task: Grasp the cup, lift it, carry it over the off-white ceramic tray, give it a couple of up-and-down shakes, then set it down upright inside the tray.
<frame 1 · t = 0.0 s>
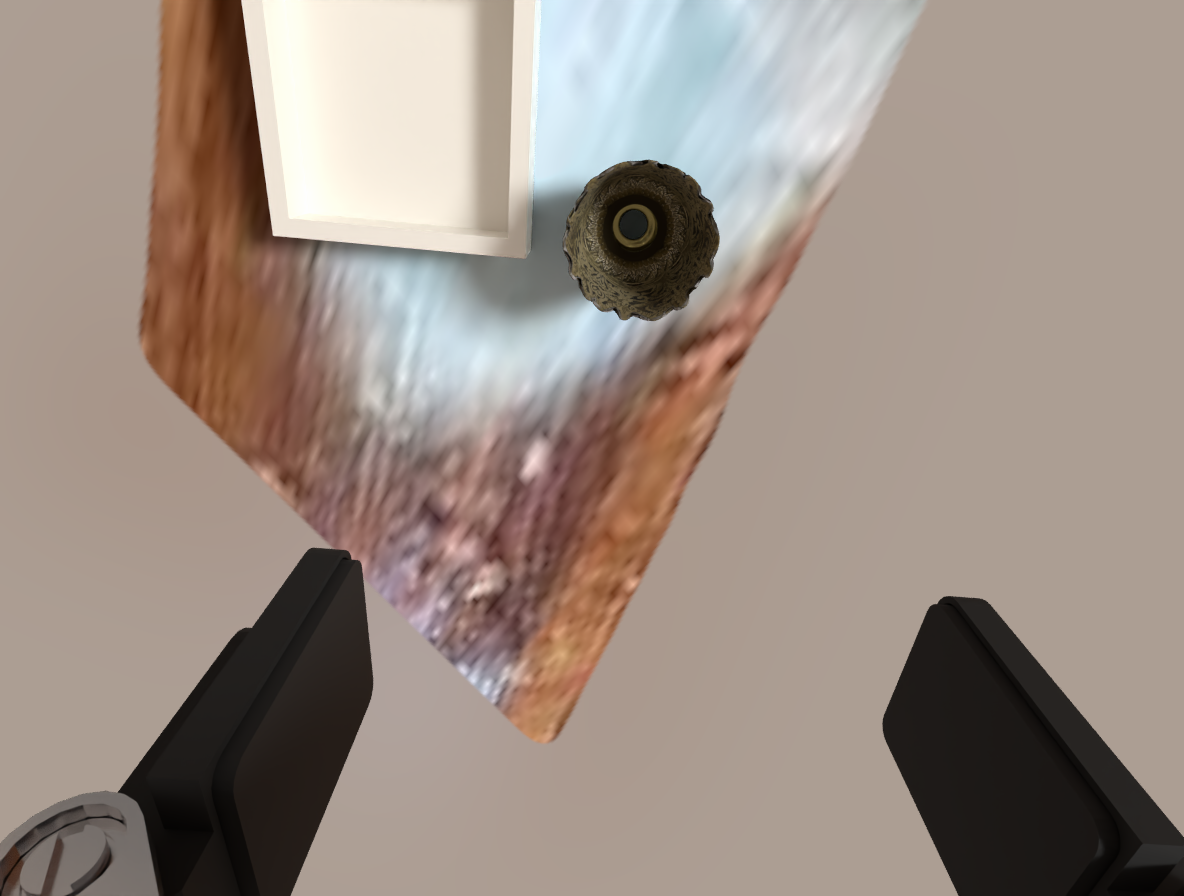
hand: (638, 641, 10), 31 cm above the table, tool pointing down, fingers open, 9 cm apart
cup: (633, 224, 37), on the table
tray: (409, 107, 34), on the table
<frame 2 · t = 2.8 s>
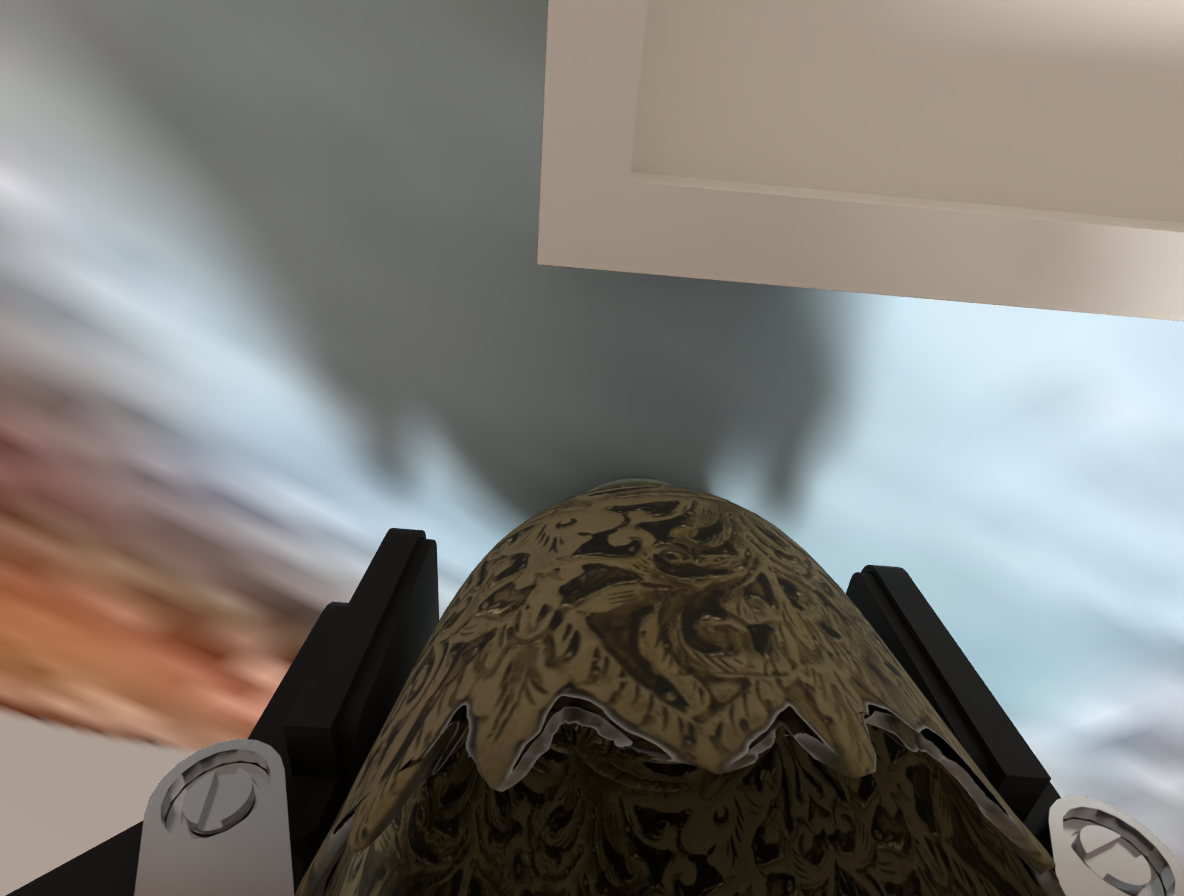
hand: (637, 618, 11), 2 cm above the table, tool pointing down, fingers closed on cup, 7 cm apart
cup: (633, 535, 13), on the table, touching gripper
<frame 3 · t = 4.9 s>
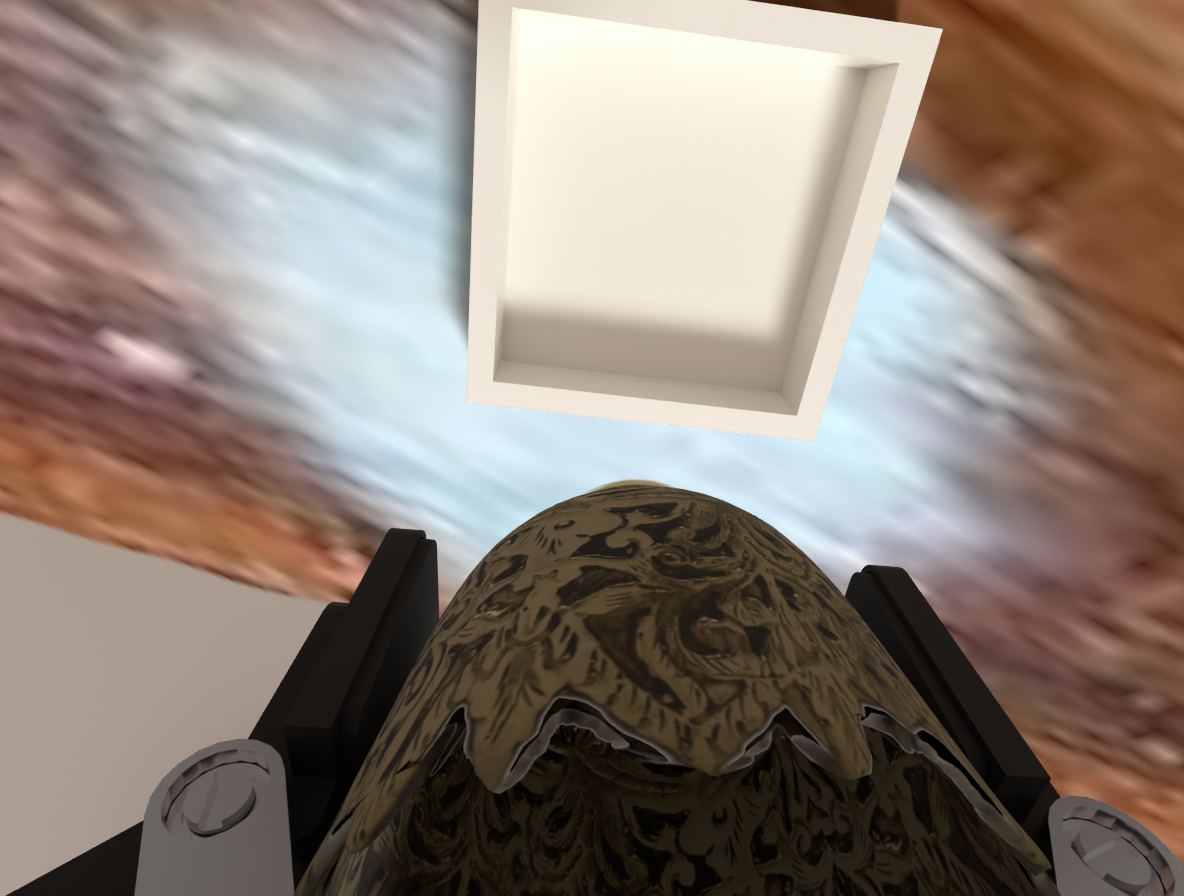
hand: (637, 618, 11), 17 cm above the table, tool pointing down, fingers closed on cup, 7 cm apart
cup: (632, 536, 13), point 15 cm above the table, touching gripper
tray: (665, 227, 24), on the table
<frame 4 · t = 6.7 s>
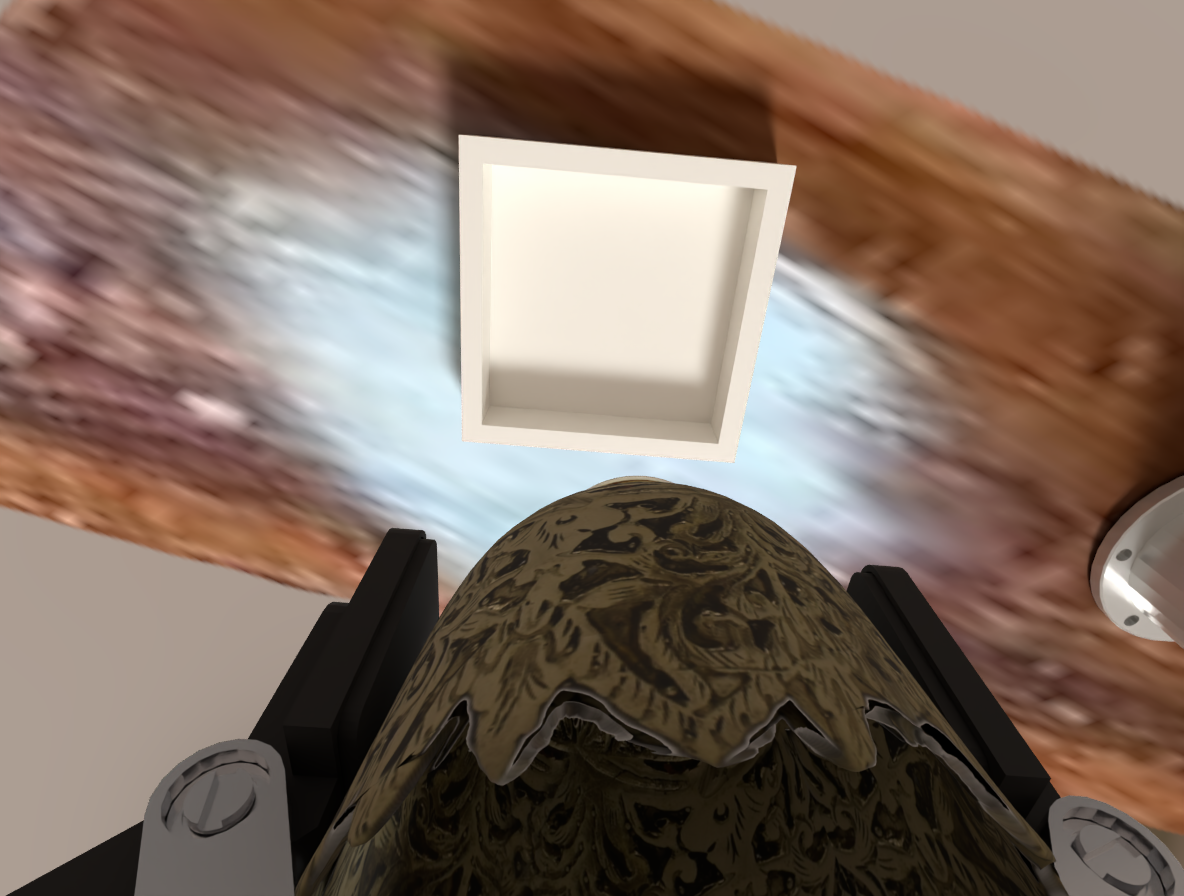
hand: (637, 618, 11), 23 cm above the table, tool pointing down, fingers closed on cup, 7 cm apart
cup: (633, 533, 13), point 21 cm above the table, touching gripper
tray: (611, 301, 32), on the table
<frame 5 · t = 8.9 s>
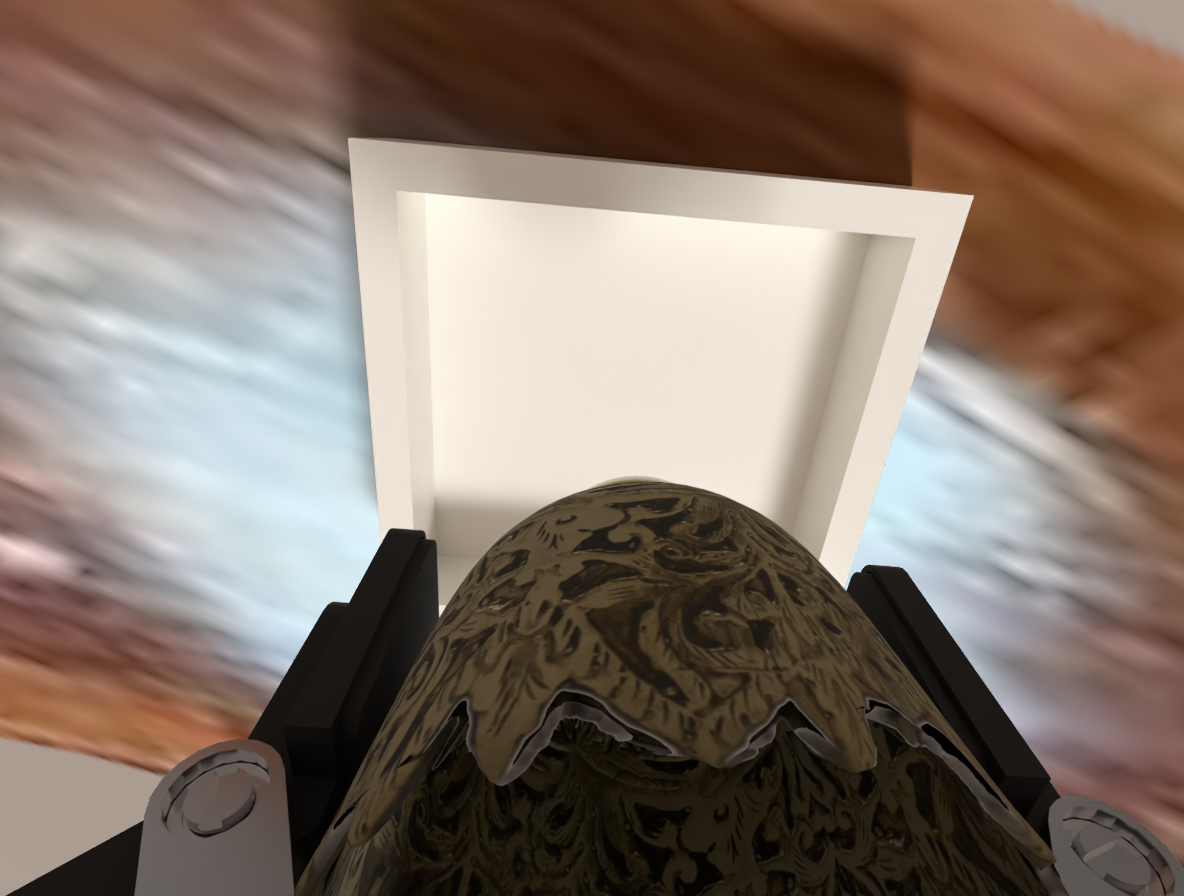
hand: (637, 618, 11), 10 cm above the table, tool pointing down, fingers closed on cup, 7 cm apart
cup: (633, 533, 13), point 7 cm above the table, touching gripper
tray: (626, 404, 20), on the table
when the fingers open (5 cm above the table, at t = 10.6 s): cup drops 2 cm, resting on tray.
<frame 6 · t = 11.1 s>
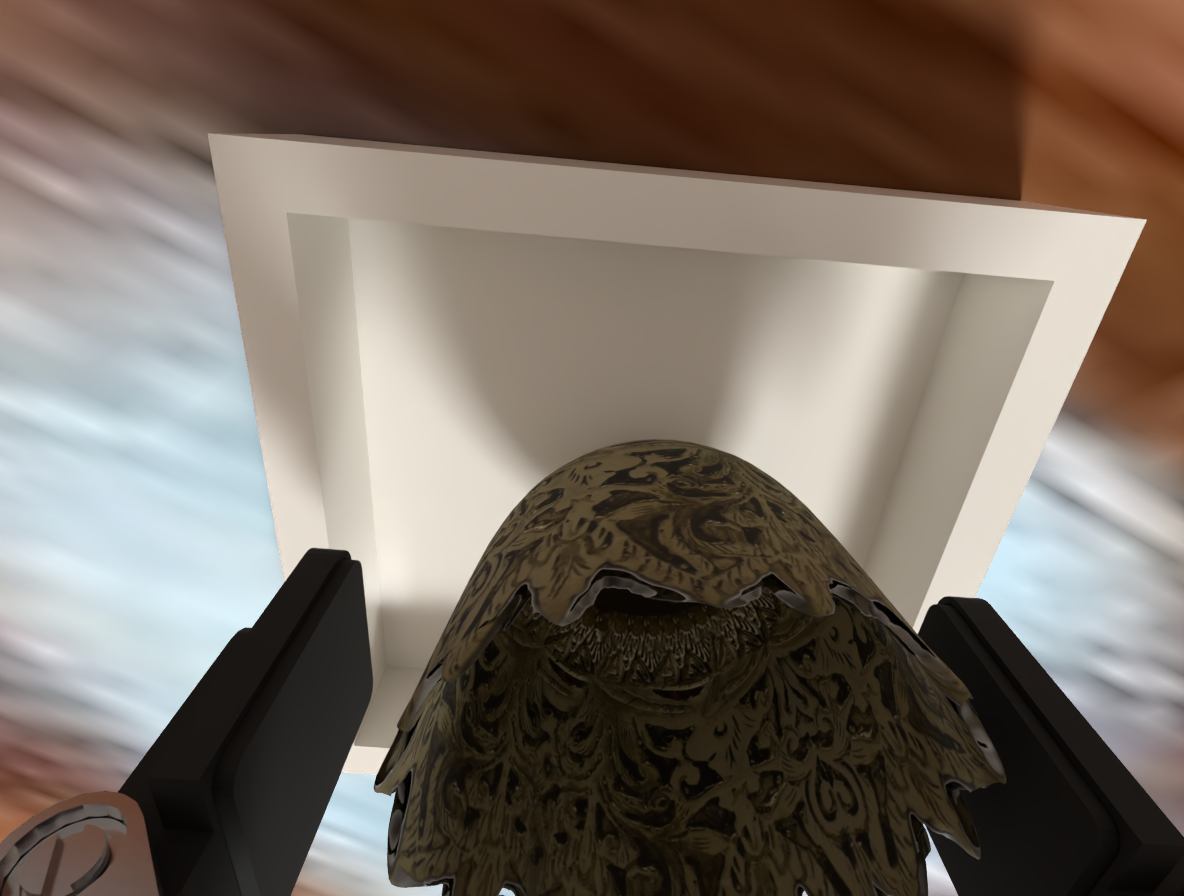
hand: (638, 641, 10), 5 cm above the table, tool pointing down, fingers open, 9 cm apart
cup: (643, 496, 15), resting on tray
tray: (627, 483, 15), on the table
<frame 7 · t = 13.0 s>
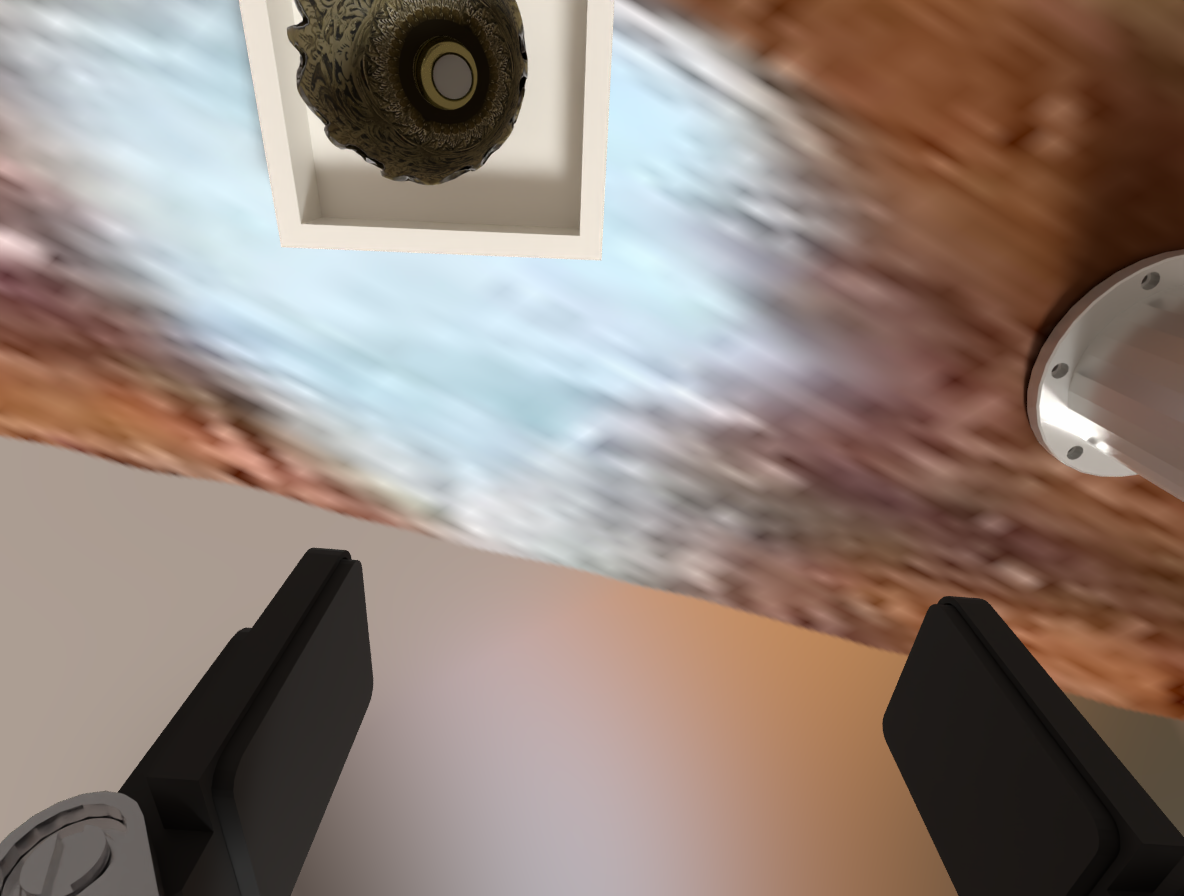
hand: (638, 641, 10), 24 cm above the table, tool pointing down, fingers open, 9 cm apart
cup: (453, 77, 27), resting on tray
tray: (446, 75, 27), on the table
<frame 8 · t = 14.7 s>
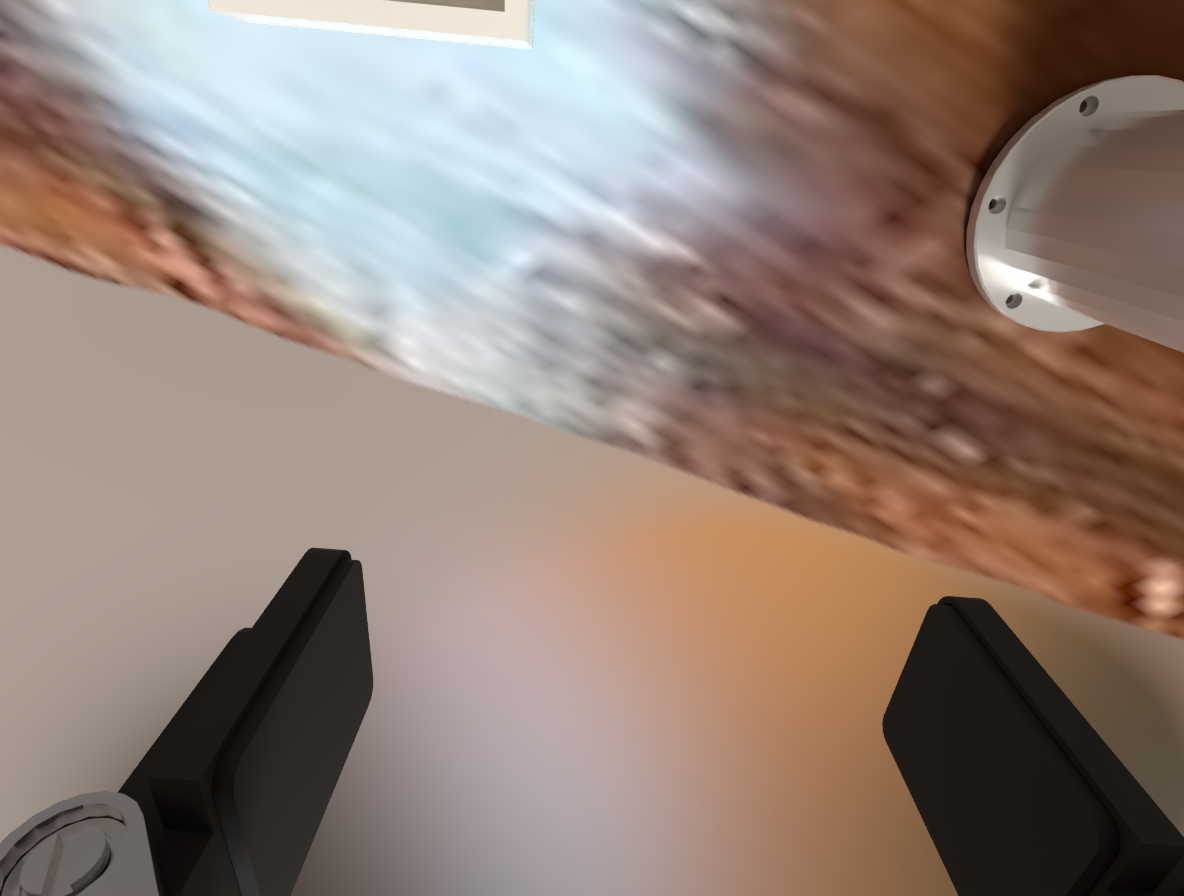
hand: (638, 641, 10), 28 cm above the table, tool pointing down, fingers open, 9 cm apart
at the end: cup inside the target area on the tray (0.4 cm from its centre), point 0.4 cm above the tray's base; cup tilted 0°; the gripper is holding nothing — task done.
